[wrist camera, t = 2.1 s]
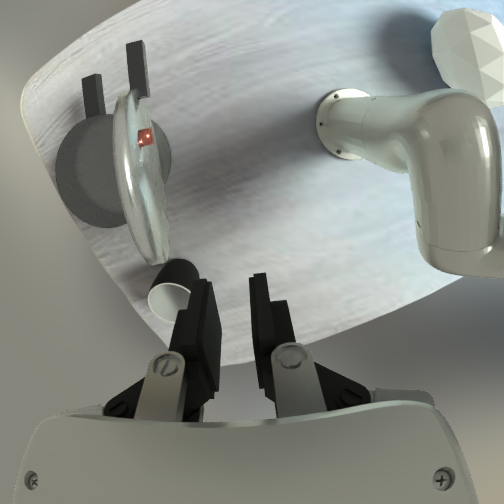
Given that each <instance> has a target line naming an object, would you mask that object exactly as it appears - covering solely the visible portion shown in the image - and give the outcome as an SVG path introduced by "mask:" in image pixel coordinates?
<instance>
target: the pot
mask: <svg viewBox="0 0 504 504" xmlns="http://www.w3.org/2000/svg"><path fill="white" fill-rule="evenodd" d="M82 88H83V97H84V106H85V113H86V119H85V120H83V121H81V122H80V123H78V124H77V125H76V126H74V127H73V128H72V129H71V130H70V131H69V132H68V134H67V135H66V137H65V138H64V140H63V142H62V143H61V146H60V148H59V151H58V154H57V159H56V171H55V172H56V181H57V186H58V189H59V192H60V194H61V197H62V199H63V201H64V202H65V204H66V205H67V207H68V208H69V209H70V210H71V212H72V213H73V214H74V215H76V216H77V217H78V218H79V219H81V220H82V221H84V222H86V223H88V224H90V225H93V226H96V227H101V228H113V227H118V226H121V225H124V224H126V223H127V221H126V218H125V215H124V211H123V207H122V204H121V200H120V195H119V190H118V185H117V180H116V173H115V166H114V156H113V118H114V114H107V115H106V111H105V103H104V95H103V87H102V77H101V74H93V75H90V76H88V77H85V78H83V79H82ZM151 121H152V120H151ZM152 125H153V129H154V134H155V138H156V143H158V148H159V154H160V160H161V166H162V171H163V177H164V179H163V184H165V182H166V180H167V178H168V175H169V172H170V167H171V150H170V146H169V143H168V140H167V138H166V136H165V134H164V132H163V131H162V130H161V128H160V127H159V126H158V125H157V124H156V123H155V122H154V121H152Z"/></svg>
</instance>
